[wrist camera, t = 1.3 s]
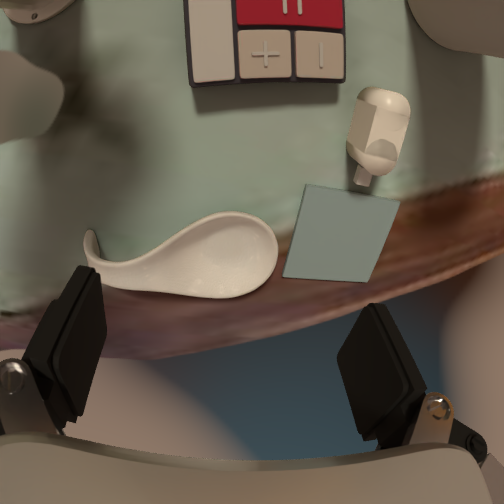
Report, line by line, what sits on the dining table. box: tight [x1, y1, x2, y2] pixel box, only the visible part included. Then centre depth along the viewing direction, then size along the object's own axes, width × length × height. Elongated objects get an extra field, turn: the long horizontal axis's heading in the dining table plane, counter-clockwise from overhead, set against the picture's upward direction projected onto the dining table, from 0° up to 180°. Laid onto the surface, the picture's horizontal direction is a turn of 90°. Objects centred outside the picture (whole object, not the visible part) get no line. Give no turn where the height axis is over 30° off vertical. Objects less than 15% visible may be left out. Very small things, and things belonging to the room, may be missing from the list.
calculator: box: [183, 0, 346, 88], centre depth 24 cm, size 11×4×15 cm
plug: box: [346, 87, 411, 187], centre depth 30 cm, size 11×4×5 cm, turn 171°
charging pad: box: [282, 184, 400, 282], centre depth 40 cm, size 13×13×1 cm
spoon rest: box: [83, 211, 278, 298], centre depth 36 cm, size 24×12×7 cm, turn 88°
